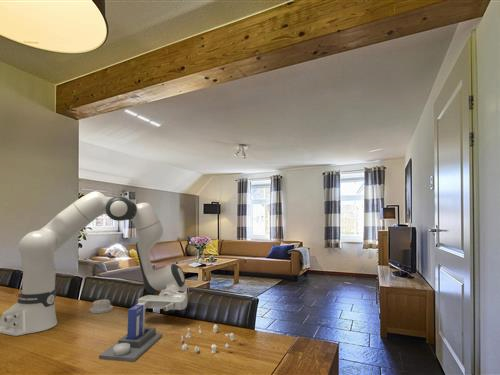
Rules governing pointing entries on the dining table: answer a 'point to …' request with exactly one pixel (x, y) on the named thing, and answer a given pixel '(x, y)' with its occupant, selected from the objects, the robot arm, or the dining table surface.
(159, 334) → the housing
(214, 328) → the game piece set
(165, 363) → the dining table surface
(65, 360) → the dining table surface
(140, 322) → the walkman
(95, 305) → the mechanical component
